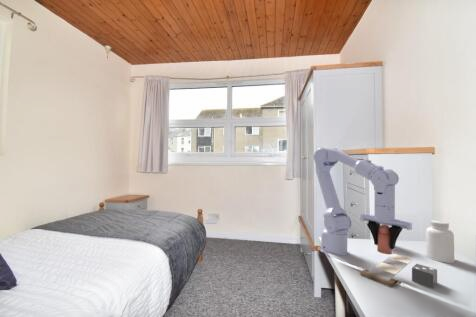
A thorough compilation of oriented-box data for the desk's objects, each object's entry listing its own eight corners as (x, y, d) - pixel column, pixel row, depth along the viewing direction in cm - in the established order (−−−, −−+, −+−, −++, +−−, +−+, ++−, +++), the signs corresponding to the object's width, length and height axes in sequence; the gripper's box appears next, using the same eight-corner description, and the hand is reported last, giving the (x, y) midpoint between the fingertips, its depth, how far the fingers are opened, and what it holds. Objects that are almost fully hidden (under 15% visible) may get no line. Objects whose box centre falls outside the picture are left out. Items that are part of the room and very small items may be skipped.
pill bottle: (425, 254, 90) (425, 218, 91) (453, 260, 85) (452, 221, 86) (426, 261, 84) (426, 222, 85) (455, 267, 79) (455, 226, 80)
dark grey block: (411, 284, 68) (411, 267, 68) (416, 279, 71) (416, 263, 71) (433, 291, 64) (433, 274, 64) (437, 286, 67) (437, 269, 67)
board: (360, 275, 73) (360, 271, 73) (391, 254, 90) (391, 251, 90) (392, 287, 66) (392, 283, 66) (418, 262, 83) (418, 259, 83)
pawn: (375, 251, 74) (376, 224, 75) (379, 249, 77) (380, 223, 77) (389, 255, 71) (389, 227, 72) (393, 252, 74) (393, 225, 74)
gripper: (414, 207, 71) (414, 250, 71) (366, 201, 82) (366, 237, 82) (408, 210, 67) (408, 255, 66) (357, 203, 78) (357, 241, 78)
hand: (384, 246), depth 74 cm, fingers closed on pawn, 4 cm apart
